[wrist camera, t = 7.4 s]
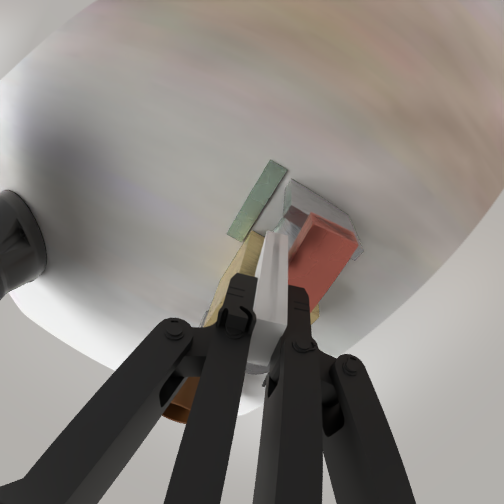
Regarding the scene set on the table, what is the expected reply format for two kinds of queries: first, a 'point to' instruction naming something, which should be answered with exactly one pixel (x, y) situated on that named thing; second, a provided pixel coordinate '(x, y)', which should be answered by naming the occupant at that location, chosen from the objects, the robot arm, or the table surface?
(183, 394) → the mug
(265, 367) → the lever
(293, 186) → the valve pipe
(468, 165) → the table surface
